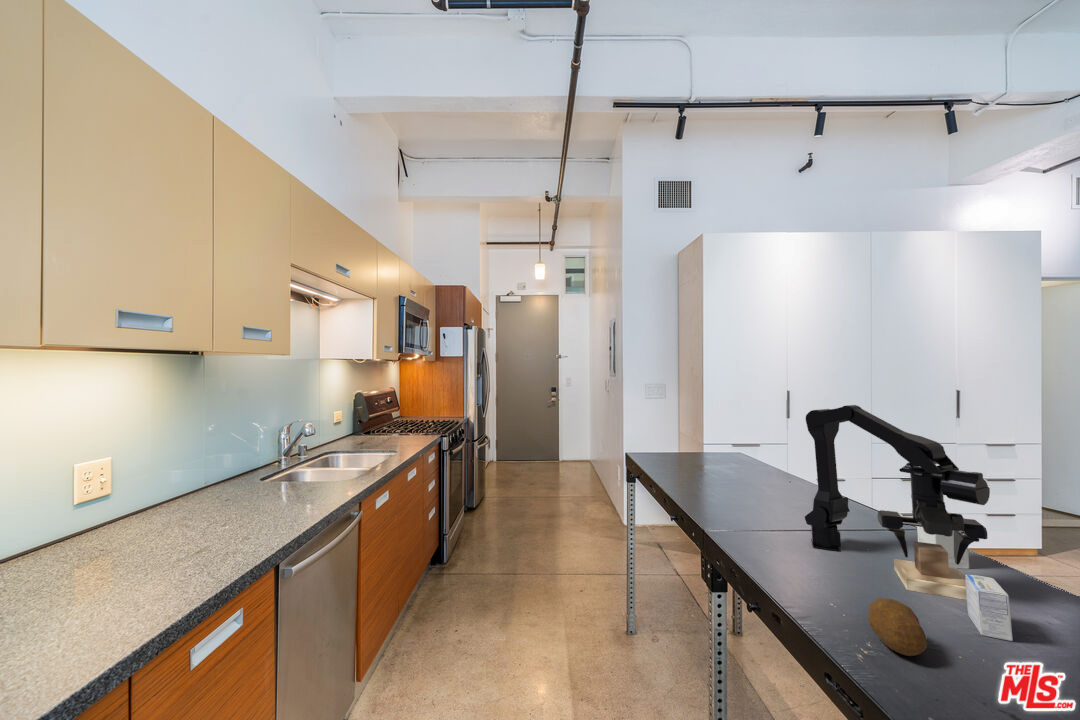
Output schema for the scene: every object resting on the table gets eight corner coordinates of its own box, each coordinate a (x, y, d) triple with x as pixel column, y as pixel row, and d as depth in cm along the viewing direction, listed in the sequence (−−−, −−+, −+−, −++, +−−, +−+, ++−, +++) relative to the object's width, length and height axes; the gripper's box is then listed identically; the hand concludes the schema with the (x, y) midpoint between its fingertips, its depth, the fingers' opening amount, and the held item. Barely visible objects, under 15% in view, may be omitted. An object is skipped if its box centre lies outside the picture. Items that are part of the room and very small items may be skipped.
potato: (892, 664, 75) (889, 618, 75) (854, 624, 87) (851, 584, 87) (946, 669, 73) (943, 622, 74) (899, 627, 85) (897, 587, 86)
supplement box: (970, 569, 109) (967, 518, 109) (936, 567, 110) (933, 517, 111) (949, 557, 116) (946, 509, 116) (917, 555, 117) (914, 508, 118)
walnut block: (921, 574, 101) (919, 548, 101) (914, 566, 105) (913, 541, 106) (949, 578, 99) (947, 552, 99) (941, 570, 103) (940, 544, 103)
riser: (906, 589, 100) (906, 577, 100) (894, 568, 110) (893, 558, 110) (977, 601, 94) (976, 588, 94) (957, 578, 104) (956, 566, 104)
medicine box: (1013, 642, 80) (1010, 595, 80) (980, 635, 82) (976, 589, 82) (997, 621, 86) (994, 577, 87) (967, 615, 89) (964, 572, 89)
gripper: (885, 498, 100) (889, 566, 100) (996, 508, 91) (1001, 583, 91) (875, 487, 110) (879, 549, 109) (974, 494, 101) (979, 562, 100)
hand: (931, 560), depth 102 cm, fingers open, 9 cm apart
